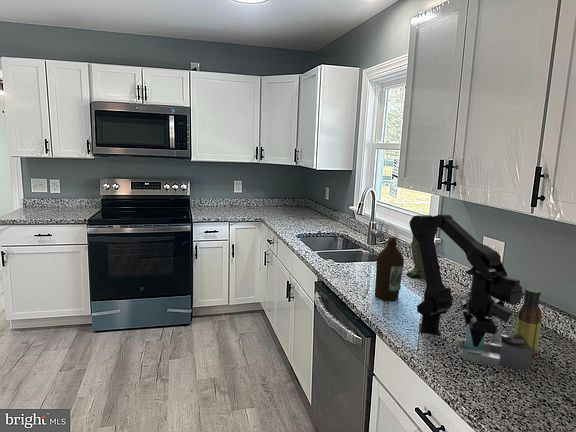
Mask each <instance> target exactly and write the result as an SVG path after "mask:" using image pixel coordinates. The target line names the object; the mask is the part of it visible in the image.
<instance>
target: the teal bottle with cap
mask: <svg viewBox="0 0 576 432" xmlns="http://www.w3.org/2000/svg"><path fill="white" fill-rule="evenodd" d="M465 330H466V331H465V336H464V339H465V343H464V345H465V346H466V347H467V348H469V349H472V350H482V349H483V343H484V342H485V335H484V336H483V338H482V340H481V342H480V344H479V345H478V347H475V346H474V345H473V341H472V337H471V333H470V329H469V325H467V326H466V329H465Z"/></svg>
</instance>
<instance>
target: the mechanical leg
mask: <svg viewBox="0 0 576 432" xmlns="http://www.w3.org/2000/svg"><path fill="white" fill-rule="evenodd" d="M437 232H439V228H437ZM410 248H411V253H412V259H413V262H412V263H413V265H414V268H413V269H412V270H411V271H408V272H406V274H405V275H406V276H407V277H409V278H411V279H426V278H425V273H424V268H423V262H422V257H421V252H420V247H419V242H418V241H417V240H416V238H415V237H414V236H413V235H412V241H411V242H410Z"/></svg>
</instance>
